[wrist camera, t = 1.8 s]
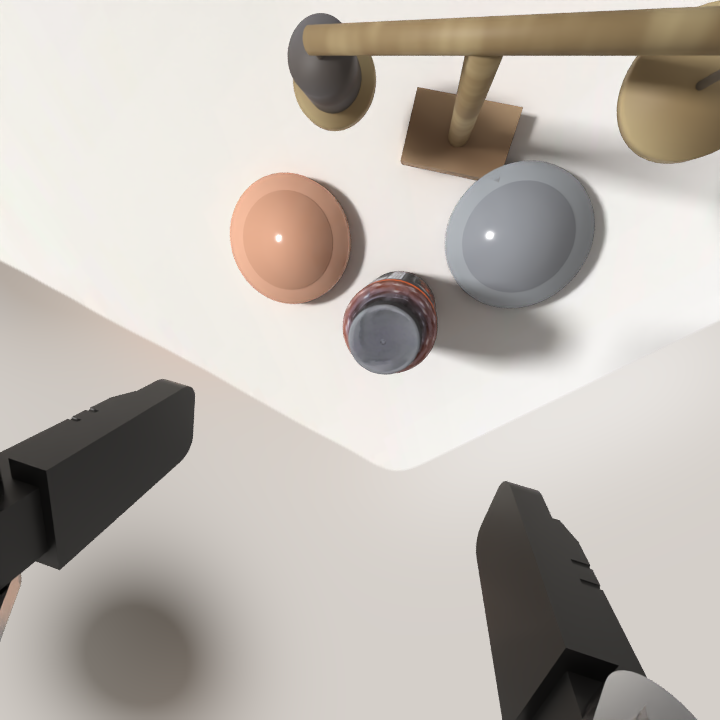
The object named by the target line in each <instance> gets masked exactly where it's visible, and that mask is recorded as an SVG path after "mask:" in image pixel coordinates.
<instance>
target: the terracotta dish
mask: <svg viewBox="0 0 720 720" xmlns="http://www.w3.org/2000/svg"><path fill="white" fill-rule="evenodd" d="M230 241H231V248H232V252H233V256H234V259H235V261H236V264H237V266H238V268H239V270H240V271H241V273H242V275H243V276H244V277H245V279H246V280H247V281H248V282H249V283H250V285H251V286H252V287H253V288H255V289H256V290H257V291H258V292H260V293H261V294H263V295H264V296H266V297H268V298H270V299H272V300H275V301H278V302H282V303H289V304H297V303H304V302H308V301H311V300H314V299H316V298H318V297H320V296H321V295H323V294H325V293H326V292H328V291H329V290H330V289H332V288H333V287H334V286H335V285H336V283H337V282H338V281H339V280H340V278H341V277H342V275H343V273H344V271H345V269H346V266H347V264H348V260H349V257H350V250H351V236H350V229H349V224H348V221H347V218H346V215H345V213H344V211H343V209H342V207H341V206H340V204H339V203H338V201H337V200H336V198H335V197H334V196H333V195H332V194H331V193H330V192H329V191H328V190H327V189H326V188H325V187H323V186H322V185H320V184H319V183H317V182H315V181H313V180H311V179H309V178H307V177H305V176H302V175H298V174H294V173H276V174H271V175H268V176H265V177H263V178H261V179H259V180H257V181H256V182H255V183H253V184H252V185H251V186H250V187H249V188H248V189H247V190H246V191H245V192H244V193H243V194H242V196H241V197H240V199H239V201H238V202H237V204H236V207H235V209H234V212H233V215H232V219H231V226H230Z"/></svg>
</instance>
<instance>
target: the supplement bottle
mask: <svg viewBox="0 0 720 720" xmlns="http://www.w3.org/2000/svg"><path fill="white" fill-rule="evenodd" d="M343 335H344V339H345V342H346V345H347V347H348V349H349V351H350V352H351V354H352V355H353V357H354V358H355V360H356V361H357V362H358V363H359V364H360V365H361V366H362V367H363V368H365V369H367V370H368V371H371V372H373V373H377V374H393V373H400V372H404V371H406V370H409V369H411V368H413V367H415V366H416V365H418V364H419V363H421V362H422V361H423V360H424V359H425V358H426V357H427V355H428V354H429V353H430V351H431V349H432V347H433V345H434V342H435V339H436V335H437V314H436V306H435V300H434V296H433V293H432V291H431V289H430V288H429V287H428V285H427V284H426V283H425V282H424V281H423V280H422V279H421V278H419V277H418V276H416V275H414V274H412V273H409V272H404V271H394V272H390V273H387V274H384V275H382V276H380V277H379V278H377V279H376V280H374V281H373V282H372V283H370V284H369V285H367V286H366V287H364V288H363V289H362V290H361V291H359V292H358V293H357V294H356V295H355V296H354V297H353V299H352V300H351V302H350V303H349V305H348V306H347V309H346V311H345V314H344V318H343Z"/></svg>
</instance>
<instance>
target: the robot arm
mask: <svg viewBox="0 0 720 720" xmlns="http://www.w3.org/2000/svg"><path fill="white" fill-rule="evenodd" d="M194 405H195V393H194V390H193V388H191V387H189V386H186V385H182V384H179V383H176V382H172V381H169V380H165V379H161V380H157V381H155V382H153V383H152V384H150V385H148V386H146V387H144V388H142V389H140V390H138V391H134V392H130V393H126V394H123V395H119V396H115V397H111V398H109V399H107V400H105V401H103V402H101V403H99V404H97V405H95V406H93V407H91V408H90V410H89V411H87V410H85V411H83V412H81V413H79V414H77V415H75V416H73V417H72V419H71V420H69V419H67V420H65V421H63V422H61V423H59V424H57V425H55V426H53V427H51V428H49V429H47V430H44V431H42V432H40V433H38V434H36V435H35V436H33V437H30V438H29V439H26V440H24V441H22V442H20V443H18V444H16V445H14V446H13V447H10V448H8V449H6V450H4V451H2V452H0V640H1V637H2V635H3V632H4V629H5V627H6V624H7V621H8V618H9V616H10V613H11V610H12V608H13V605H14V602H15V600H16V596H17V594H18V591H19V589H20V585H21V573H22V572H23V571H24V570H25V569H26V568H28V567H29V566H30V565H31V564H33V563H34V562H35V561H36V562H39V563H42V564H45V565H47V566H50V567H53V568H56V569H58V570H60V569H61V568H62V567H64V566H65V565H66V564H67V563H68V562H69V561H70V560H71V559H73V558H74V557H75V556H76V555H77V554H78V553H79V552H80V551H81V550H82V549H84V548H85V547H86V546H87V545H88V544H89V543H90V542H91V541H93V540H94V538H96V537H97V536H98V535H99V534H100V533H101V532H103V531H104V530H105V529H106V528H107V527H108V526H109V525H110V524H112V523H113V522H114V521H115V520H116V519H117V518H118V517H119V516H120V515H122V514H123V513H124V512H125V511H126V510H127V509H128V508H129V507H130V506H132V505H133V504H134V503H135V502H136V501H137V500H138V499H139V498H140V497H142V496H143V495H144V494H145V493H146V492H147V491H148V490H149V489H151V488H152V487H153V486H154V485H155V484H156V483H157V482H158V481H159V480H161V479H162V478H163V477H164V476H165V475H166V474H167V473H168V472H169V471H171V470H172V469H173V468H174V467H175V466H176V465H177V464H178V463H180V462H181V460H182V459H183V458H184V457H185V456H186V454H187V452H188V450H189V448H190V446H191V443H192V439H193V424H194ZM476 555H477V563H478V569H479V576H480V582H481V588H482V594H483V601H484V606H485V613H486V620H487V626H488V632H489V638H490V645H491V651H492V656H493V663H494V669H495V676H496V682H497V689H498V695H499V701H500V708H501V714H502V720H697V719H696V718H695V717H694V715H693V714H692V713H691V712H690V711H688V709H687V708H686V707H685V706H684V705H683V704H682V703H681V702H679V701H678V700H677V699H676V698H675V697H674V696H673V695H671V694H670V693H669V692H668V691H666V690H665V689H664V688H662V687H661V686H659V685H658V684H656V683H655V682H653V681H652V680H650V679H648V678H647V677H646V675H645V673H644V671H643V669H642V667H641V665H640V663H639V661H638V659H637V657H636V655H635V653H634V651H633V649H632V647H631V645H630V643H629V641H628V639H627V637H626V635H625V633H624V631H623V629H622V628H621V625H620V624H619V621H618V619H617V617H616V616H615V614H614V612H613V610H612V608H611V606H610V604H609V602H608V600H607V598H606V596H605V594H604V592H603V590H600V584H599V582H598V580H597V578H596V576H595V575H594V572H593V570H592V569H590V564H589V562H588V560H587V558H586V556H585V554H584V552H583V550H582V548H581V546H580V545H579V542H578V541H577V540H576V539H575V538H574V536H573V535H572V534H571V533H570V532H569V531H568V530H567V529H566V527H565V526H564V525H563V524H562V523H561V522H560V520H557V519H553V518H552V517H551V515H550V512H549V510H548V508H547V506H546V504H545V501H544V499H543V497H542V495H541V493H540V492H539V491H537V490H534V489H531V488H527V487H524V486H520V485H517V484H513V483H510V482H507V481H505V482H503V483H502V484H501V485H500V486H499V488H498V490H497V492H496V495H495V496H494V499H493V501H492V503H491V505H490V507H489V510H488V512H487V514H486V516H485V518H484V520H483V523H482V525H481V527H480V530H479V533H478V537H477V544H476Z"/></svg>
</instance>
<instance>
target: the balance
mask: <svg viewBox="0 0 720 720" xmlns="http://www.w3.org/2000/svg"><path fill="white" fill-rule="evenodd" d="M371 56H465V57H464V62H463V67H462V72H461V76H460V81H459V86H458V91H457V95H456V94H451V93H445V92H440V91H435V90H430V89H425V88H420V87H417V91H416V96H415V100H414V104H413V109H412V113H411V118H410V122H409V126H408V131H407V135H406V139H405V144H404V148H403V152H402V157H401V163H402V164H403V165H408V166H413V167H417V168H422V169H427V170H431V171H436V172H440V173H445V174H450V175H454V176H459V177H464V178H468V179H473V180H479V179H480V178H481V177H483V176H484V175H486V174H487V173H489V172H491V171H493V170H494V169H497V168H499V167H501V166H504V164H505V161H506V158H507V155H508V152H509V149H510V146H511V142H512V139H513V136H514V133H515V130H516V127H517V124H518V121H519V118H520V115H521V112H522V109H523V107H518V106H513V105H507V104H502V103H497V102H492V101H487V100H485V98H486V96H487V93H488V91H489V88H490V86H491V84H492V81H493V79H494V76H495V74H496V72H497V69H498V67H499V64H500V62H501V60H502V57H503V56H637V57H636V58H635V60H634V61H633V63H632V65H631V66H630V68H629V70H628V71H627V74H626V76H625V78H624V80H623V83H622V86H621V89H620V92H619V96H618V102H617V121H618V127H619V130H620V133H621V136H622V138H623V140H624V141H625V143H626V144H627V146H628V147H629V148H630V149H631V150H632V151H633V152H634V153H635V154H637V155H638V156H640V157H642V158H644V159H646V160H648V161H652V162H655V163H663V164H673V163H680V162H685V161H689V160H693V159H696V158H699V157H703V156H705V155H708V154H711V153H713V152H715V151H717V150H719V149H720V1H716V2H711V3H707V4H705V5H702V6H699V7H683V8H661V9H640V10H618V11H597V12H575V13H554V14H532V15H511V16H488V17H467V18H446V19H424V20H403V21H381V22H360V23H341V22H340V21H339V20H338V19H336V18H335V17H333V16H331V15H329V14H325V13H317V14H313V15H310V16H308V17H307V18H305V19H304V20H303V21H301V22H300V23H299V25H298V26H297V27H296V29H295V30H294V32H293V34H292V36H291V39H290V42H289V47H288V65H289V69H290V73H291V75H292V77H293V85H294V92H295V96H296V99H297V102H298V104H299V106H300V108H301V109H302V111H303V112H304V114H305V115H306V116H307V117H308V118H309V119H310V120H311V121H312V122H313V123H314V124H315V125H317V126H318V127H320V128H322V129H325V130H329V131H341V130H345V129H348V128H350V127H352V126H353V125H355V124H356V123H357V122H359V121H360V120H361V119H362V117H363V116H364V115H365V114H366V112H367V111H368V109H369V107H370V105H371V103H372V100H373V97H374V93H375V87H376V72H375V67H374V63H373V60H372V57H371ZM497 173H498V172H497ZM499 175H500V174H499ZM489 176H490V175H489ZM491 176H492V175H491ZM499 178H500V177H499ZM499 178H498V179H499ZM496 179H497V178H496ZM496 179H495V181H496ZM497 182H498V181H497Z"/></svg>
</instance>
